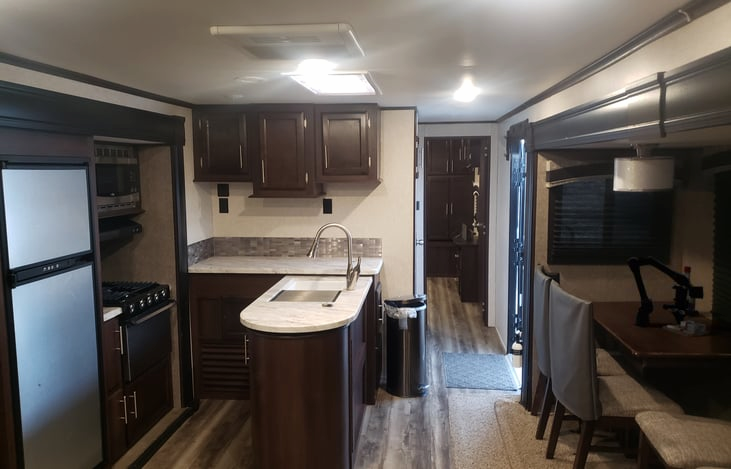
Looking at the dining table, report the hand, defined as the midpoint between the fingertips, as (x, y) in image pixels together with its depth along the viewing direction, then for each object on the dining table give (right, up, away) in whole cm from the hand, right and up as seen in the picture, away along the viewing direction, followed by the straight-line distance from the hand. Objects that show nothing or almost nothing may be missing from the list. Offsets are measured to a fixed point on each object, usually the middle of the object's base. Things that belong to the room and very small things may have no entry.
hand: (679, 324), depth 292 cm
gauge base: (0, -3, -4) cm, 5 cm away
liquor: (+21, 0, +30) cm, 37 cm away
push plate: (0, -1, -5) cm, 5 cm away
